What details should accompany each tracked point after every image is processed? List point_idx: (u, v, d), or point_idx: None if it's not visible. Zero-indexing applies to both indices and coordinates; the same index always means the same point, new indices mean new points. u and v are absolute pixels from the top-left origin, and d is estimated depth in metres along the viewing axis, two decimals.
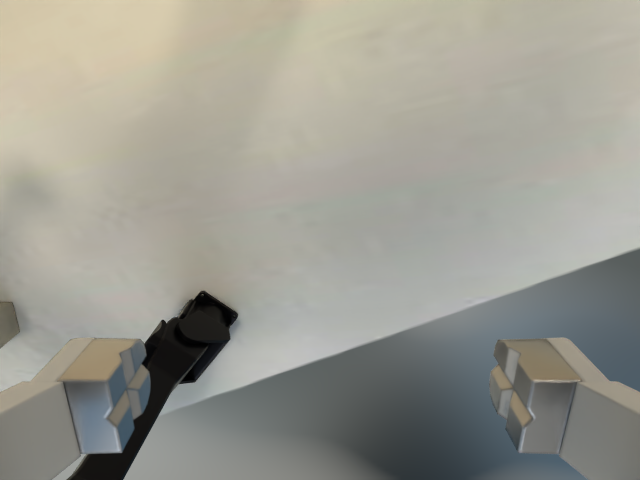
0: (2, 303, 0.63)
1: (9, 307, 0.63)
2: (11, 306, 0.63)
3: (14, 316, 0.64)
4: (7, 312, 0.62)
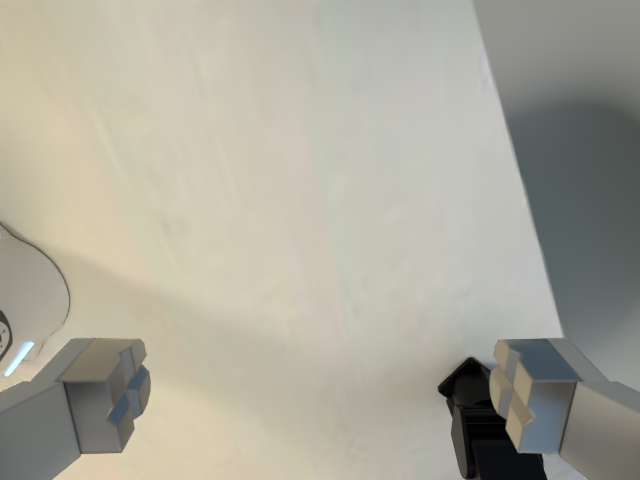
0: None
1: None
2: None
3: None
4: None
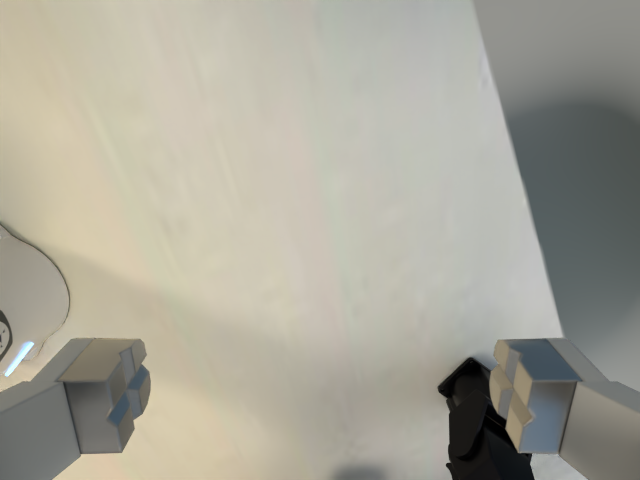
0: None
1: None
2: None
3: None
4: None
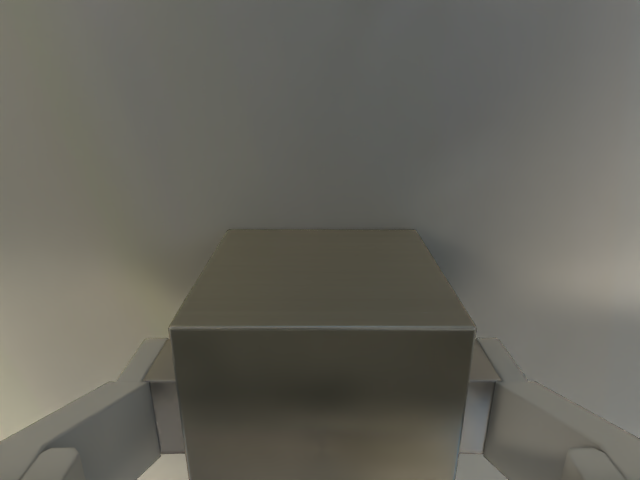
0: None
1: (239, 238, 0.11)
2: (244, 233, 0.11)
3: (309, 232, 0.11)
4: (254, 248, 0.10)
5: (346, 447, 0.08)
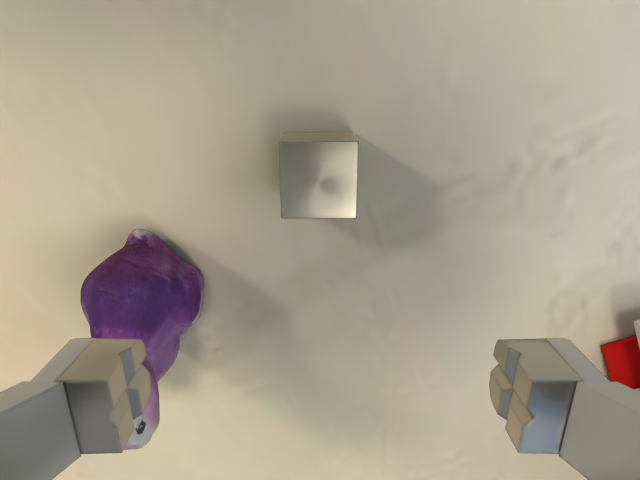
0: None
1: (290, 133, 0.31)
2: (291, 132, 0.31)
3: (314, 132, 0.32)
4: (296, 134, 0.31)
5: (325, 180, 0.28)
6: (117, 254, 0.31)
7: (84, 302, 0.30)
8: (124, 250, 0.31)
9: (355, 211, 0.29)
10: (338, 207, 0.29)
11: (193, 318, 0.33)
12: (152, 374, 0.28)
